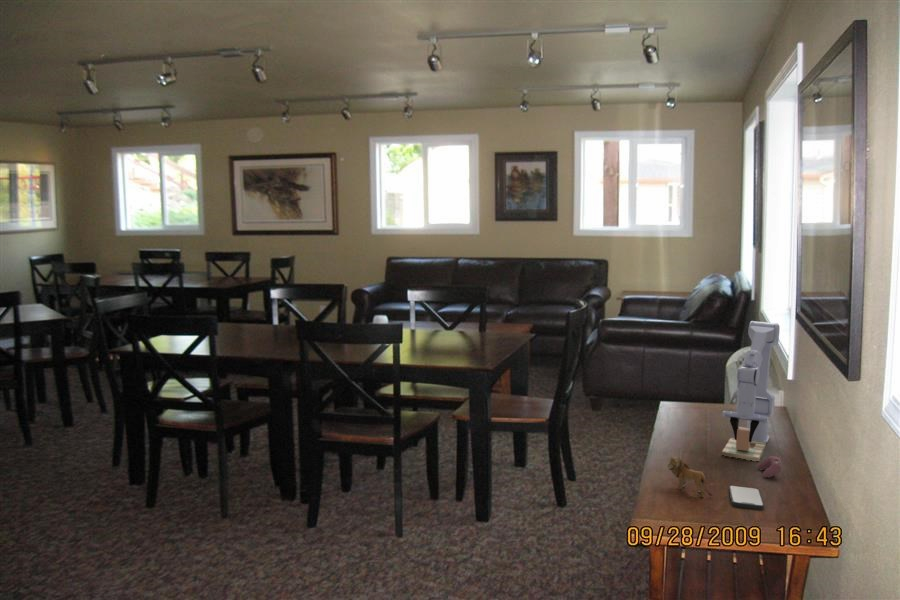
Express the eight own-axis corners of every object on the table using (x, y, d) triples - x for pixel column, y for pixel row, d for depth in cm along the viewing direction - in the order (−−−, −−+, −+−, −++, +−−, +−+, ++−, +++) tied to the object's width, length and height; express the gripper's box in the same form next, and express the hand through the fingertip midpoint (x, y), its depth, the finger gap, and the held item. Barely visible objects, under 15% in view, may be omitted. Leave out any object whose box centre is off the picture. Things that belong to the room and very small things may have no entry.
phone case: (728, 490, 248) (731, 507, 232) (728, 485, 248) (731, 502, 232) (759, 494, 245) (764, 511, 230) (759, 488, 245) (765, 506, 230)
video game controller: (774, 484, 257) (786, 465, 256) (761, 476, 258) (773, 458, 257) (768, 474, 267) (780, 456, 266) (756, 467, 268) (767, 449, 266)
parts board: (730, 441, 298) (730, 437, 297) (765, 447, 292) (765, 442, 292) (721, 455, 280) (721, 451, 280) (758, 461, 274) (759, 457, 274)
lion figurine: (663, 486, 247) (665, 457, 246) (672, 482, 251) (674, 453, 250) (708, 499, 237) (710, 469, 236) (717, 495, 241) (719, 465, 240)
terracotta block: (737, 446, 284) (738, 426, 283) (749, 448, 282) (751, 428, 282) (735, 449, 281) (737, 429, 280) (747, 451, 279) (749, 431, 278)
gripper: (722, 401, 279) (719, 439, 281) (767, 407, 273) (764, 446, 274) (725, 397, 285) (722, 434, 287) (769, 402, 279) (766, 441, 280)
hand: (743, 440), depth 281 cm, fingers closed on terracotta block, 4 cm apart
